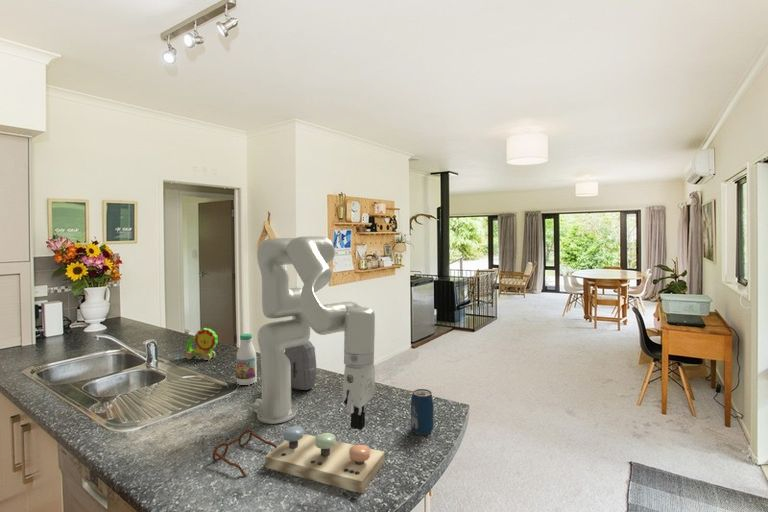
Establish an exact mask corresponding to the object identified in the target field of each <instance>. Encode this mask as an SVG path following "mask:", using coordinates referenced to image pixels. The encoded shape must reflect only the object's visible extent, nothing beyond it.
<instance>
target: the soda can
mask: <svg viewBox="0 0 768 512" xmlns="http://www.w3.org/2000/svg"><path fill="white" fill-rule="evenodd" d="M434 401H435V400H434V396H433V394H432V391H431V390H429V389H427V388H426V389H425V388H417V389H415V390H413V391H412V395H411V397H410V427H411V429H412V431H413V432H414V433H415V434H417V435H419V436H420V435H421V436H422V435H423V436H424V435H429V434H430V433H431V432H432V431H433V430H434V406H435V405H434Z"/></svg>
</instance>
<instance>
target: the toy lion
mask: <svg viewBox="0 0 768 512" xmlns="http://www.w3.org/2000/svg"><path fill="white" fill-rule="evenodd" d="M218 338H219V337H218V335H217V333H216V331H214V330H213V329H211V328H207V327H204V328H202V329H200V330H198V331H197V332H196V333H195V334H194V336H191V337H190V338H189V339H188V340H187V342H186V346H185V347H186V350H185V351H186V353H185V354H184V356H185V359H186V358H187V359H186V360H188V359H189V360H191V359H193V358H195V357H194V356H196V357H198V356H199V357H202V359H203V361H205V360H208V361H210V360H211V358H212V359H214V358H216V352H215V351H214V349H215V348H216V347H217V345H218V343H219V340H218ZM193 342H195V343H196V345H197V346H196V347H195V348H193V346H192V344H193Z"/></svg>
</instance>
